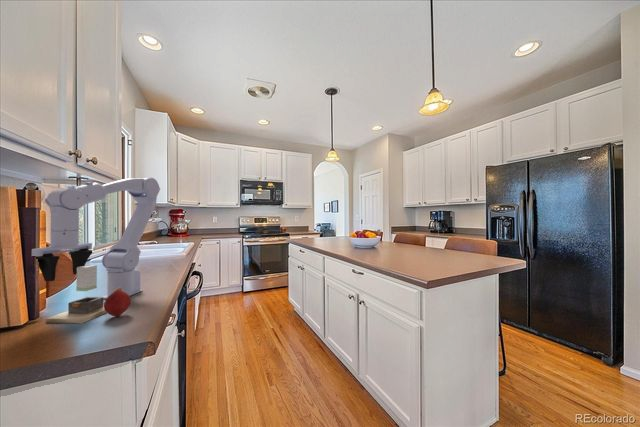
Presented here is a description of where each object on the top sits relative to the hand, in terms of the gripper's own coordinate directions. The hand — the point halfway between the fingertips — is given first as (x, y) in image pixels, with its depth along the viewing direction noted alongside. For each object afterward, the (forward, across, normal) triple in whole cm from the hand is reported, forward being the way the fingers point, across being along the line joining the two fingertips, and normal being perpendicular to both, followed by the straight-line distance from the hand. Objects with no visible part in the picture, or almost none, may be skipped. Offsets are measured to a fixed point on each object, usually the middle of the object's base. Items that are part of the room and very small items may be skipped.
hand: (64, 277), depth 72 cm
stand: (+10, 0, +7) cm, 12 cm away
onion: (+11, +1, +17) cm, 20 cm away
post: (+3, 0, +7) cm, 8 cm away
